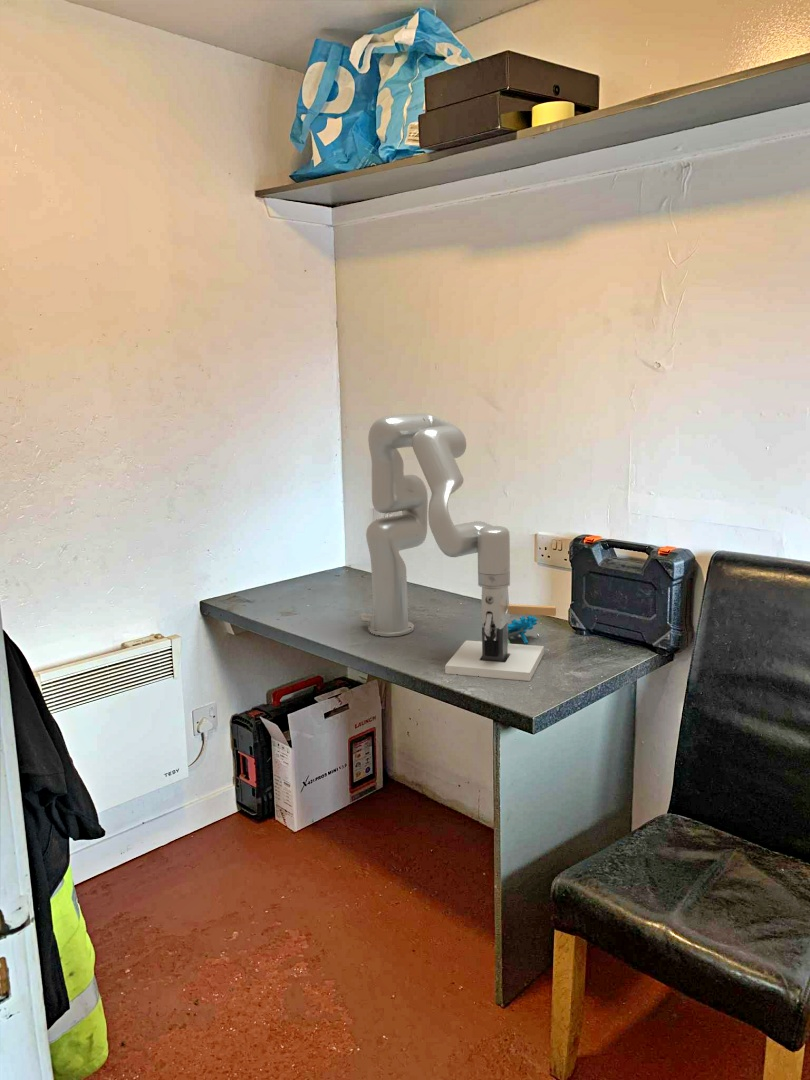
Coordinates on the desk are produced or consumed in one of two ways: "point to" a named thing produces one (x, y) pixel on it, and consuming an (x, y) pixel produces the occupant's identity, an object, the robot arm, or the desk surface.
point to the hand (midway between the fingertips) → (494, 650)
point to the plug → (501, 645)
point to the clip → (532, 610)
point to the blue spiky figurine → (521, 627)
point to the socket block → (516, 667)
